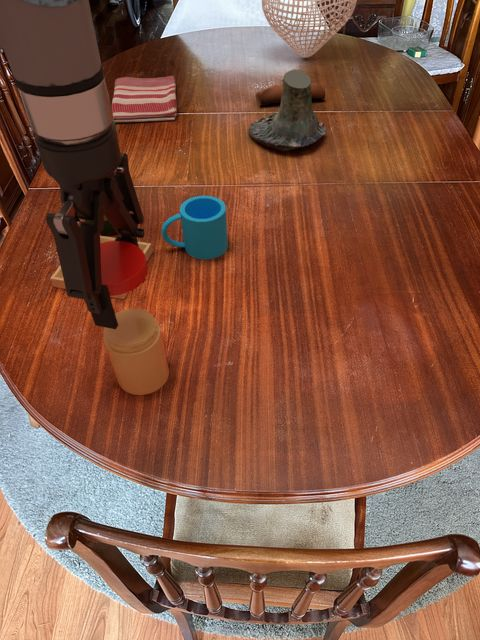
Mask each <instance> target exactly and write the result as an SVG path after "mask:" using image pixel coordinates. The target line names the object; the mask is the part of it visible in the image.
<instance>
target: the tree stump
mask: <svg viewBox="0 0 480 640" xmlns="http://www.w3.org/2000/svg"><path fill="white" fill-rule="evenodd" d="M311 79H312V78H311V77H310V75H309V74H308V73H307V72H305V71H303V70H300V69H291V70H288V71H287V72H285V73H284V75H283V78H282V80H281V81H282V83H281V84H282V86H283V91H282V97H281V102H280V104H279V108H278V112H277V113H276V112H272V113H270V114H269V115H268V116H266V117H262V118H260V119H257V120H255V121H254V122H252V123H250V124H249V125H250V126H249V128H248V134H249V136H250V138H251V139H252V140H253V141H255V142H257V143H259V144H261V145H263V146H265V147H267V148H272V149H275V150H278V151H283V152H287V151H291V150H292V151H293V150H296V149H302V148H306V147H311V146H312V145H313V144H315V143H316V142H317V141H319V140H320V139H321V138H322V137H324V135H326V132H327V128H326V125H325V123H324V122H322V121H321V122H320V121H319V119H318V117H317V115H316V113H315V111H314V109H313V102H312V100H313V99H312V98H311V83H312V80H311ZM311 144H312V145H311ZM307 145H308V146H307ZM302 146H303V147H302ZM297 147H298V148H297ZM292 148H293V149H292Z"/></svg>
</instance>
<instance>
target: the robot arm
mask: <svg viewBox="0 0 480 640" xmlns="http://www.w3.org/2000/svg"><path fill="white" fill-rule="evenodd" d="M0 50H1V51H4V55H5V57H6V59H7V62H8V65H9V67H10V68H9V69H10V71H11V74H12V79H13V80H14V83H15V85H16V87H17V89H18V92H19V95H20V98H21V101H22V104H23V107H24V110H25V114H26V116H27V119H28V122H29V126H30V128H31V131H32V132H33V133H34V142H35V145H36V148H37V151H38V153H39V157H40V160H41V162H42V166H43V169H44V171H45V172H46V173H47V175H49V176H50V178H52V179H53V180H54V181H56V183H57V184H58V185H59V190H60V201H61V204H62V205H61V207H60V208H59V210H58V211H57V213H56V212H55V213H54V212H48V213H47V214H46V218H45V221H46V224H47V226H48V228H49V230H50V232H51V233H52V236H53V238H54V239H53V240H54V243H55V247H56V253H57V256H58V260H59V266H60V265H61V270H62V274H63V279H64V283H65V287H66V289H65V292H66V295H67V297H68V298H75V299H78V300H79V299H80V300H84V302H85V304H86V308H87V311H88V312H89V313H90V314H91V317H92V320H93V323H94V325H95V326H96V327H102V328H104V327H106V328H111V329H116V328H117V327H118V322H117V319H116V315H115V313H116V312H115V309H114V305H113V302H112V299H111V298H112V297H110V295H109V292H108V288H107V286H106V285H102V280H101V249H100V236H101V234H100V232H101V231H103V230H104V215H105V216H106V218H107V219H108V221H109V222H110V223H111V225H112V226H113V228H114V229H115V231H116V232H117V233H116V234H118V235H120V236H116V237H115V238H116V239H115V241H124V242H129V243H132V244H134V245H136V246H138V247H139V245H138V242H139V241H138V238H139V239H144V237H145V233H146V232H145V229H144V228H139V225H143V224H144V221H145V218H144V214H143V211H142V207H141V205H140V202H139V198H138V195H137V192H136V188H135V186H134V182H133V178H132V176H131V172H130V164H129V156H128V154H127V153H126V152H121V147H120V142H119V137H118V138H117V136H118V132H117V133H116V130H117V128H116V129H115V126H114V124H113V123H112V121H113V119H114V118H113V112H112V103H111V99H110V95H109V92H108V87H107V86H108V85H107V82H106V77H105V74H104V69H103V65H102V61H101V57H100V50H99V45H98V40H97V35H96V31H95V26H94V22H93V15H92V11H91V5H90V0H0ZM118 142H119V143H118ZM128 211H130V213H129V212H128ZM85 220H89V221H94V223H89V222H86V221H85ZM146 280H147V277H146V278H145V280H144V281H143V282H142V283H141V284H143V283H145V281H146Z"/></svg>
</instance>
